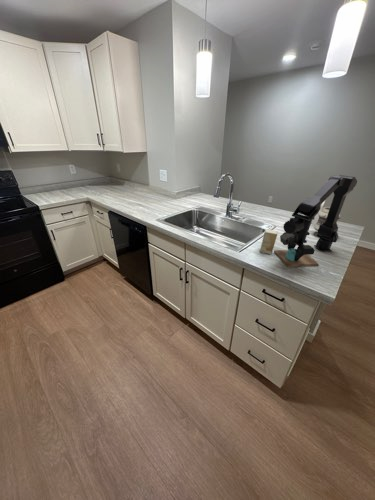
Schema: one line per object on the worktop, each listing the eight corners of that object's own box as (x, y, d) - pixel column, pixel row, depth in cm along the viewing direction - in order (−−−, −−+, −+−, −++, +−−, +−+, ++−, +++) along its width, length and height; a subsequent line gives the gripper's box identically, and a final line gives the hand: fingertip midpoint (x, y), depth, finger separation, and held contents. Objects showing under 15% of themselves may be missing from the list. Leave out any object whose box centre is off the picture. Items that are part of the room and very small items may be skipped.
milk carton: (306, 220, 153) (314, 195, 143) (317, 222, 149) (326, 197, 140) (305, 223, 147) (313, 197, 138) (316, 225, 144) (325, 199, 135)
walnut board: (301, 251, 110) (302, 249, 109) (318, 265, 98) (318, 263, 97) (273, 252, 109) (274, 250, 108) (286, 266, 97) (287, 264, 96)
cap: (294, 254, 103) (297, 247, 101) (300, 260, 98) (303, 253, 96) (283, 255, 103) (286, 247, 100) (289, 261, 98) (292, 253, 95)
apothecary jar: (322, 231, 135) (332, 205, 126) (337, 239, 125) (349, 211, 116) (306, 232, 133) (315, 206, 124) (320, 240, 123) (330, 212, 114)
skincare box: (259, 252, 108) (264, 231, 102) (260, 248, 112) (264, 228, 106) (272, 254, 107) (277, 233, 101) (272, 250, 110) (277, 230, 104)
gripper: (275, 221, 100) (269, 248, 108) (295, 238, 84) (286, 268, 92) (297, 221, 101) (288, 248, 109) (320, 237, 85) (309, 267, 92)
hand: (292, 257), depth 100 cm, fingers closed on cap, 6 cm apart
